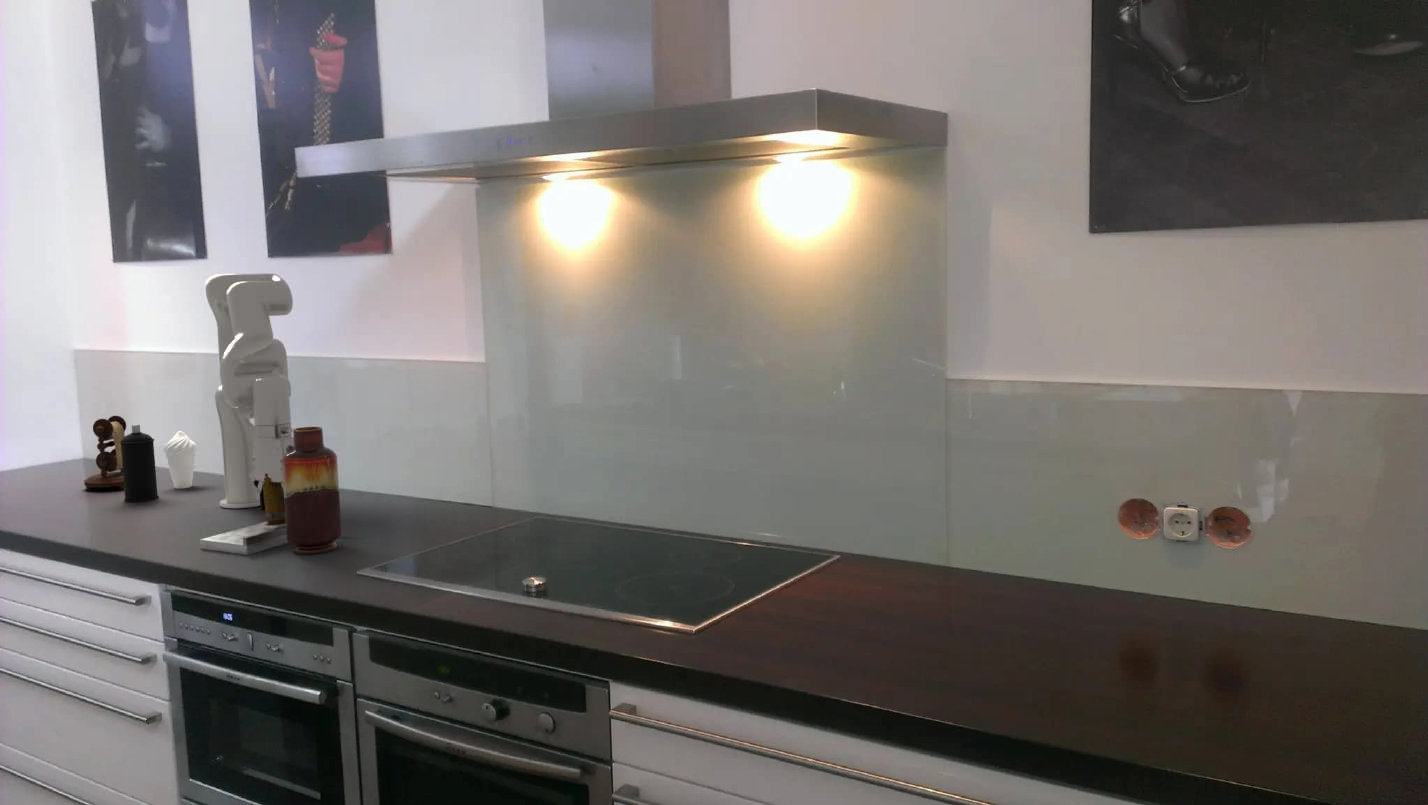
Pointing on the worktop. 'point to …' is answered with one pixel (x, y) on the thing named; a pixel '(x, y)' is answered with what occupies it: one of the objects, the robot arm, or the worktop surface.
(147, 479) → the aerosol can
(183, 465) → the soft serve ice cream cone
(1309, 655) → the worktop surface
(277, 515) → the condiment
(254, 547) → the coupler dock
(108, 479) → the brown wooden figurine
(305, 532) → the vase
